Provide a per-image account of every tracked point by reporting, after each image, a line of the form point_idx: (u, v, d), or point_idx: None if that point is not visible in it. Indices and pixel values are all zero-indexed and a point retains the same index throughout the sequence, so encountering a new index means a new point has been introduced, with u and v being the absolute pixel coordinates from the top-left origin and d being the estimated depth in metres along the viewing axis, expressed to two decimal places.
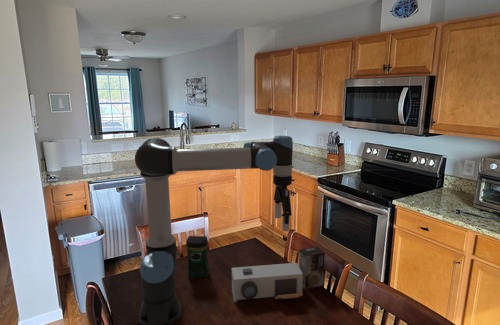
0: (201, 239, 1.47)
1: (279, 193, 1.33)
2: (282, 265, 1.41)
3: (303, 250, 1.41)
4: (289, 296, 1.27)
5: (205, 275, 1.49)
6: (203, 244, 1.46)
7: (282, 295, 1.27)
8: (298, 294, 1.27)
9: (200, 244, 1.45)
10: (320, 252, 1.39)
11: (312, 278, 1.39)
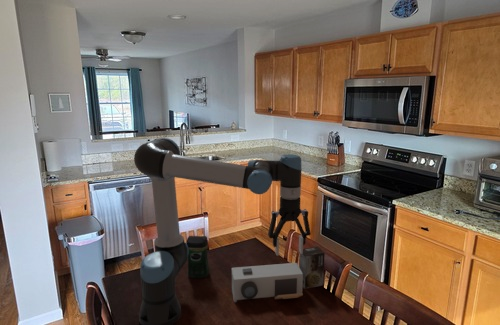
0: (201, 239, 1.47)
1: None
2: (282, 265, 1.41)
3: (303, 250, 1.41)
4: (289, 296, 1.27)
5: (205, 275, 1.49)
6: (203, 244, 1.46)
7: (282, 295, 1.27)
8: (298, 294, 1.27)
9: (200, 244, 1.45)
10: (320, 252, 1.39)
11: (312, 278, 1.39)
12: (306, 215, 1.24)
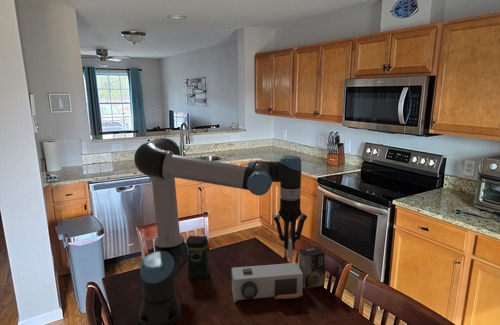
0: (201, 239, 1.47)
1: None
2: (282, 265, 1.41)
3: (303, 250, 1.41)
4: (289, 296, 1.27)
5: (205, 275, 1.49)
6: (203, 244, 1.46)
7: (282, 295, 1.27)
8: (298, 294, 1.27)
9: (200, 244, 1.45)
10: (320, 252, 1.39)
11: (312, 278, 1.39)
12: (304, 219, 1.24)
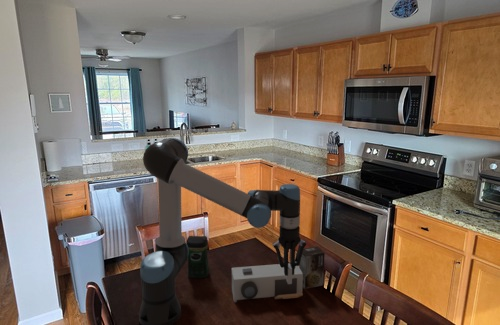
0: (201, 239, 1.47)
1: None
2: None
3: (303, 250, 1.41)
4: (289, 296, 1.27)
5: (205, 275, 1.49)
6: (203, 244, 1.46)
7: (282, 295, 1.27)
8: (298, 294, 1.27)
9: (200, 244, 1.45)
10: (320, 252, 1.39)
11: (312, 278, 1.39)
12: (303, 246, 1.26)
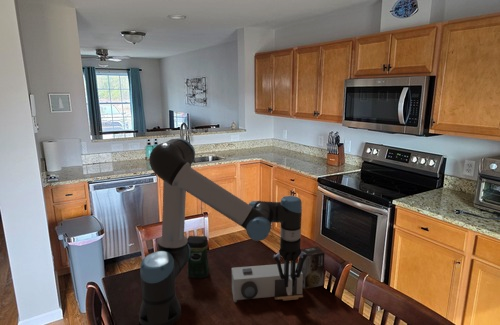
0: (201, 239, 1.47)
1: None
2: (282, 265, 1.41)
3: (303, 250, 1.41)
4: (289, 298, 1.27)
5: (205, 275, 1.49)
6: (203, 244, 1.46)
7: (282, 297, 1.26)
8: (298, 296, 1.27)
9: (200, 244, 1.45)
10: (320, 252, 1.39)
11: (312, 278, 1.39)
12: (304, 258, 1.26)
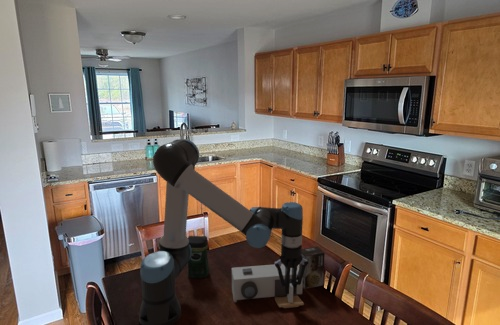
0: (201, 239, 1.47)
1: None
2: (282, 265, 1.41)
3: (303, 250, 1.41)
4: (290, 306, 1.26)
5: (205, 275, 1.49)
6: (203, 244, 1.46)
7: (283, 305, 1.26)
8: (299, 304, 1.27)
9: (200, 244, 1.45)
10: (320, 252, 1.39)
11: (312, 278, 1.39)
12: (305, 265, 1.24)
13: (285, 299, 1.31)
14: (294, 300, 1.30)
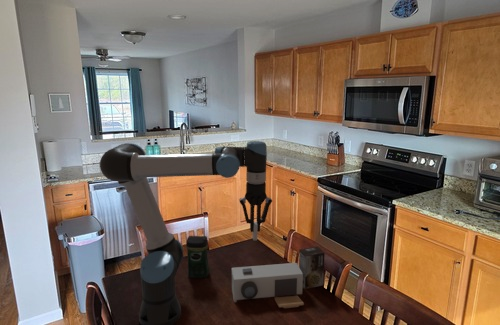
0: (201, 239, 1.47)
1: None
2: (282, 265, 1.41)
3: (303, 250, 1.41)
4: (290, 306, 1.26)
5: (205, 275, 1.49)
6: (203, 244, 1.46)
7: (283, 305, 1.26)
8: (299, 304, 1.27)
9: (200, 244, 1.45)
10: (320, 252, 1.39)
11: (312, 278, 1.39)
12: (269, 203, 1.29)
13: (285, 299, 1.31)
14: (294, 300, 1.30)
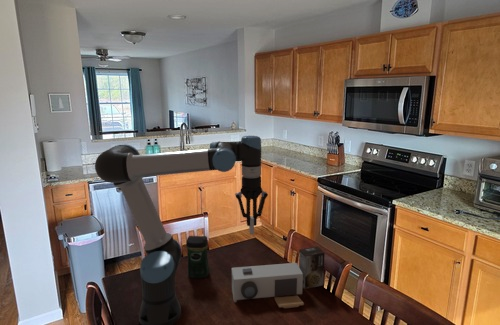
0: (201, 239, 1.47)
1: None
2: (282, 265, 1.41)
3: (303, 250, 1.41)
4: (290, 306, 1.26)
5: (205, 275, 1.49)
6: (203, 244, 1.46)
7: (283, 305, 1.26)
8: (299, 304, 1.27)
9: (200, 244, 1.45)
10: (320, 252, 1.39)
11: (312, 278, 1.39)
12: (264, 197, 1.30)
13: (285, 299, 1.31)
14: (294, 300, 1.30)
